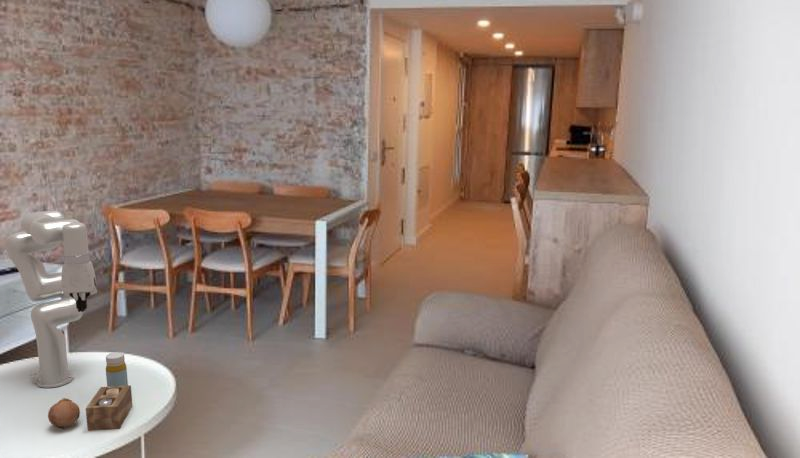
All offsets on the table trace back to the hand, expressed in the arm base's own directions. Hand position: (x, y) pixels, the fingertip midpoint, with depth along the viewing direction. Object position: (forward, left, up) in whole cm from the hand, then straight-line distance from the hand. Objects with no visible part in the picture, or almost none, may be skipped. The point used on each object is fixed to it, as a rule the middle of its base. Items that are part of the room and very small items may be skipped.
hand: (82, 310), depth 224 cm
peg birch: (+10, -8, -35) cm, 37 cm away
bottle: (+7, +8, -35) cm, 37 cm away
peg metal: (+10, -16, -35) cm, 39 cm away
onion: (-3, -15, -35) cm, 39 cm away
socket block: (+10, -12, -35) cm, 38 cm away
